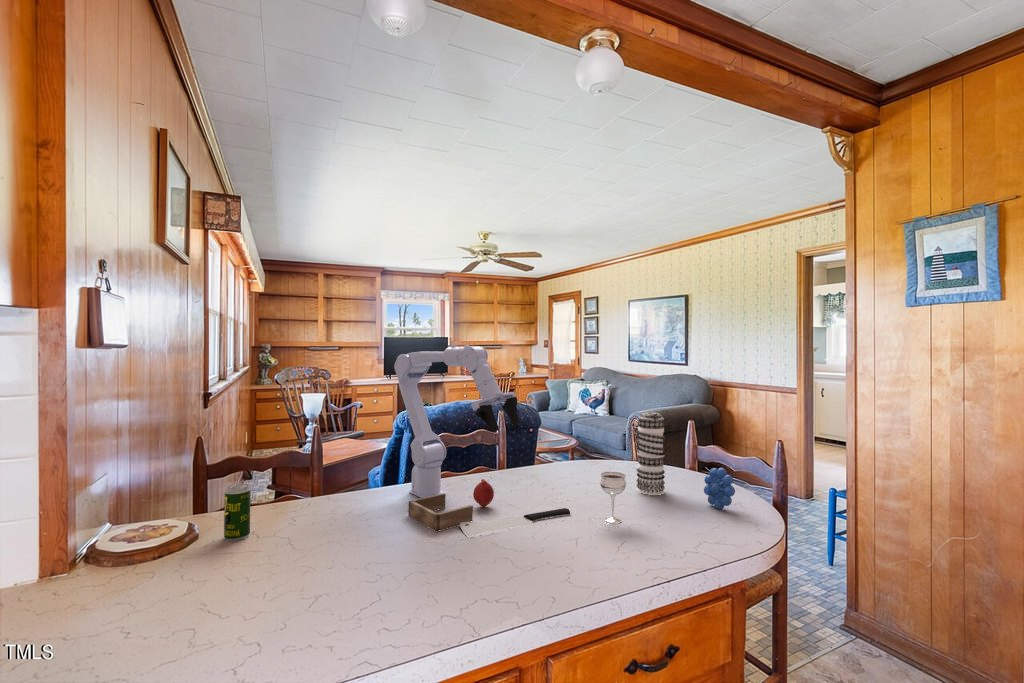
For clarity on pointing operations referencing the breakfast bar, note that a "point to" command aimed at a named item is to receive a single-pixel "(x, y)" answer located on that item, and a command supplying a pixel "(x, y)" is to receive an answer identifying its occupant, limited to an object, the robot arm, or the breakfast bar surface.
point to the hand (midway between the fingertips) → (506, 427)
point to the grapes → (719, 488)
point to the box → (425, 513)
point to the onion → (483, 493)
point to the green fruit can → (237, 512)
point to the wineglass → (613, 488)
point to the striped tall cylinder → (650, 454)
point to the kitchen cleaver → (509, 522)
